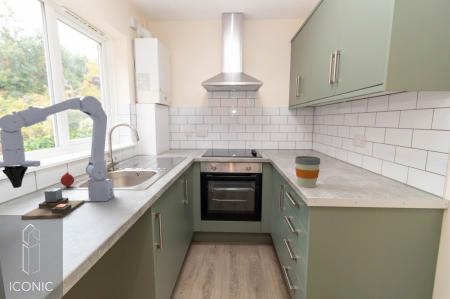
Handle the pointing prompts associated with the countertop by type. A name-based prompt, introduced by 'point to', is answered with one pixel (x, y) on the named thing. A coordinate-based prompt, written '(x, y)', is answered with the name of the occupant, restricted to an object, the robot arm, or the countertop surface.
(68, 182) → the onion
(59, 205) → the button
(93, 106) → the robot arm
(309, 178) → the reusable coffee cup
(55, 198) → the block
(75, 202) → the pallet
